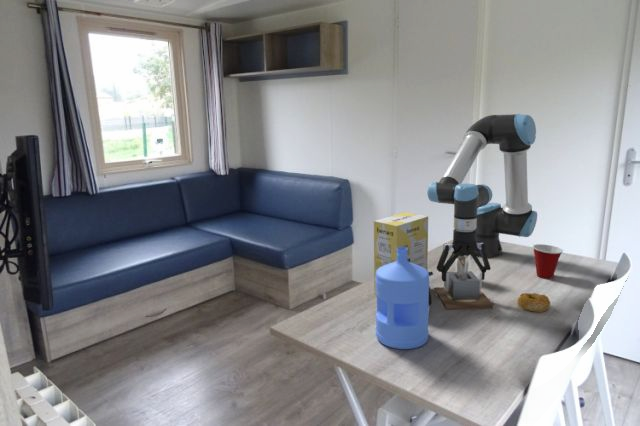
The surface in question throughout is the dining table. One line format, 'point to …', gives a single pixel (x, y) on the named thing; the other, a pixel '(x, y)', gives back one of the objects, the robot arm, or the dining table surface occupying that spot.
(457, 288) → the collar
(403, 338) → the water jug
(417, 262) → the pasta box
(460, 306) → the post stand
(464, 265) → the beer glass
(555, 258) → the plastic cup
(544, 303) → the bagel
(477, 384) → the dining table surface
